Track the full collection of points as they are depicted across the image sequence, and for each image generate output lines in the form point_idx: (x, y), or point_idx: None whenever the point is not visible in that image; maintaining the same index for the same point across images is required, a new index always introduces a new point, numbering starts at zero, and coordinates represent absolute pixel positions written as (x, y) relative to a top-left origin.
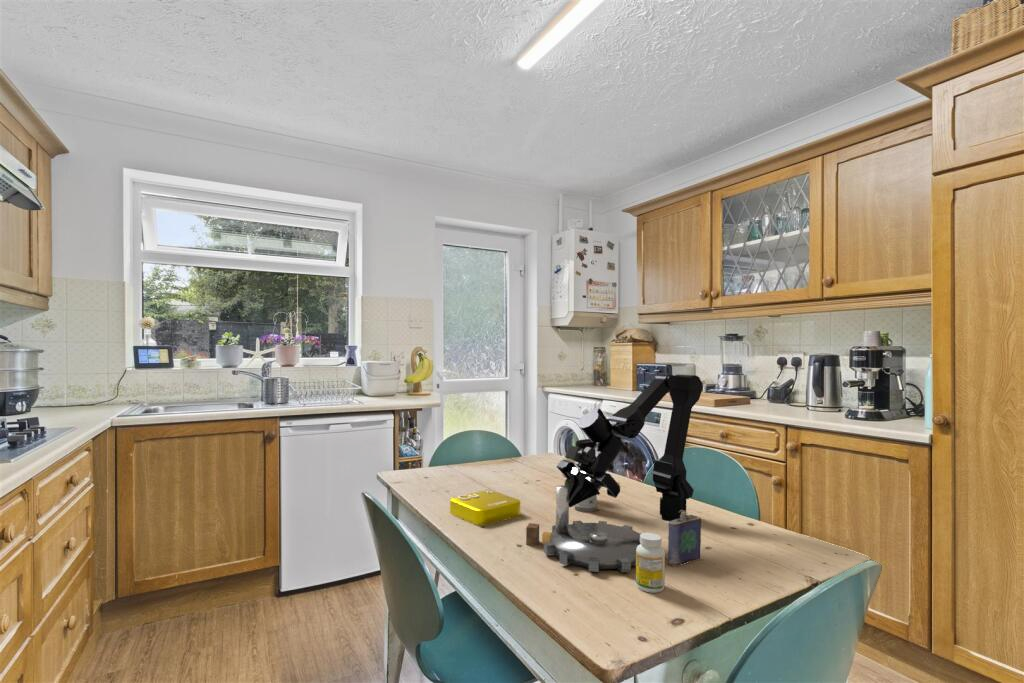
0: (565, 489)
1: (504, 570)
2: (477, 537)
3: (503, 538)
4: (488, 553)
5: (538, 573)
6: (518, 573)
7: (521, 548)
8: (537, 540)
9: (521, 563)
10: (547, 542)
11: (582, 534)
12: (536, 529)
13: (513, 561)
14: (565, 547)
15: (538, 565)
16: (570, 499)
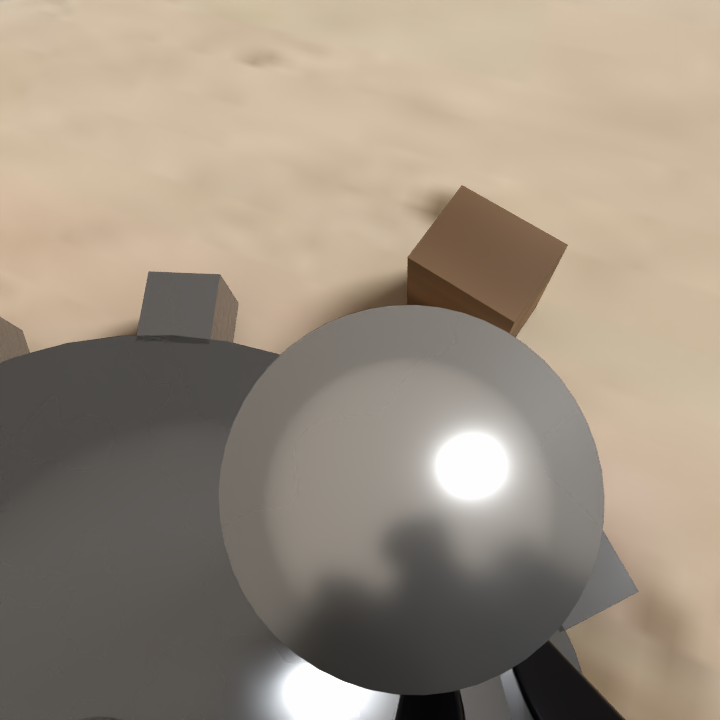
0: (224, 485)
1: (123, 37)
2: (667, 5)
3: (612, 149)
4: (378, 12)
5: (5, 184)
6: (56, 90)
7: (393, 208)
8: None
9: (169, 140)
10: (208, 301)
11: (265, 710)
12: (408, 262)
13: (214, 107)
14: (53, 394)
15: (100, 220)
16: (429, 707)
